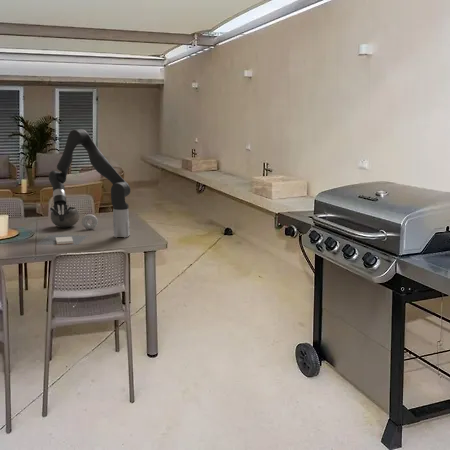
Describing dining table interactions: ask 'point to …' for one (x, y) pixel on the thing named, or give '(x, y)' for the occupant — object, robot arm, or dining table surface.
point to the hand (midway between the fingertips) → (61, 220)
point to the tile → (64, 240)
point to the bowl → (66, 218)
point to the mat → (52, 238)
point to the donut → (89, 217)
